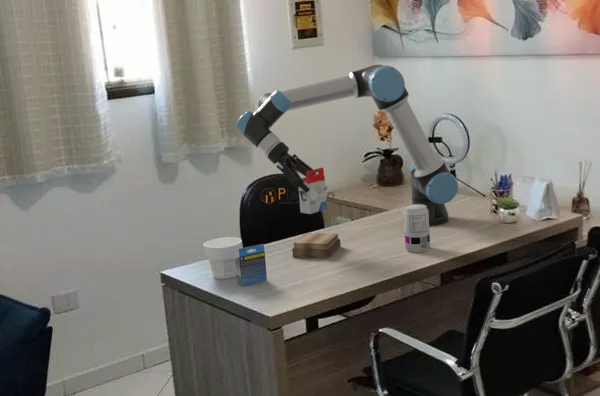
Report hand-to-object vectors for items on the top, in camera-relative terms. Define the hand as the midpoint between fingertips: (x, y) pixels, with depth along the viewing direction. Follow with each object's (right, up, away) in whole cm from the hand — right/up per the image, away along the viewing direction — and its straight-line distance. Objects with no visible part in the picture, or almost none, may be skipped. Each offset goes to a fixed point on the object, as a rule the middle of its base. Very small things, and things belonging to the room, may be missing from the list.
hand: (321, 194), depth 273 cm
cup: (-31, -27, -11) cm, 42 cm away
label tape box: (-22, -28, -21) cm, 41 cm away
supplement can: (+33, -19, -1) cm, 38 cm away
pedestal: (-1, -20, +6) cm, 21 cm away
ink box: (-2, -6, +3) cm, 7 cm away
